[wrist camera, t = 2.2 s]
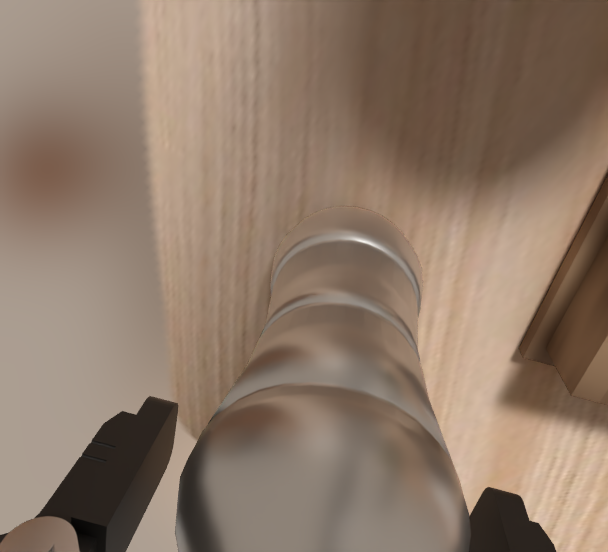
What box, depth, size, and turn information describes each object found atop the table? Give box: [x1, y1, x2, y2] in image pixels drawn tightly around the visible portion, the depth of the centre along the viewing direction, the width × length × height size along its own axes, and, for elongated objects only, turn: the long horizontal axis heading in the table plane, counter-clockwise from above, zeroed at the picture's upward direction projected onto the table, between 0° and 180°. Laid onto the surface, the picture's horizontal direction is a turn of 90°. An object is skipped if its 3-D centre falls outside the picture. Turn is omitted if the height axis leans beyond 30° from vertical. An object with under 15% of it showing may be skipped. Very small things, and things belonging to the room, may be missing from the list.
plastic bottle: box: [175, 206, 471, 552], centre depth 15 cm, size 6×7×20 cm
